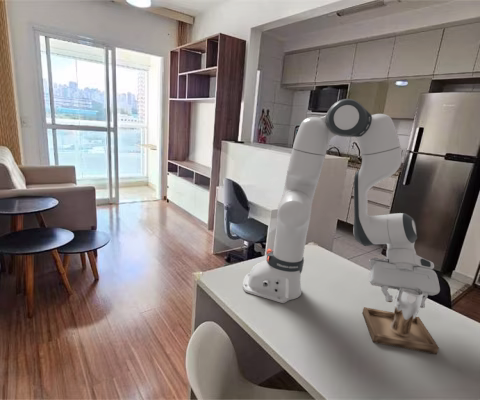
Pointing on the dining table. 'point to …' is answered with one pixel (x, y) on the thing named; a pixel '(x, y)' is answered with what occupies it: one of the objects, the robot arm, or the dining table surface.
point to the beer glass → (405, 310)
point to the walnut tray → (384, 335)
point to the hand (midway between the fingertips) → (405, 304)
